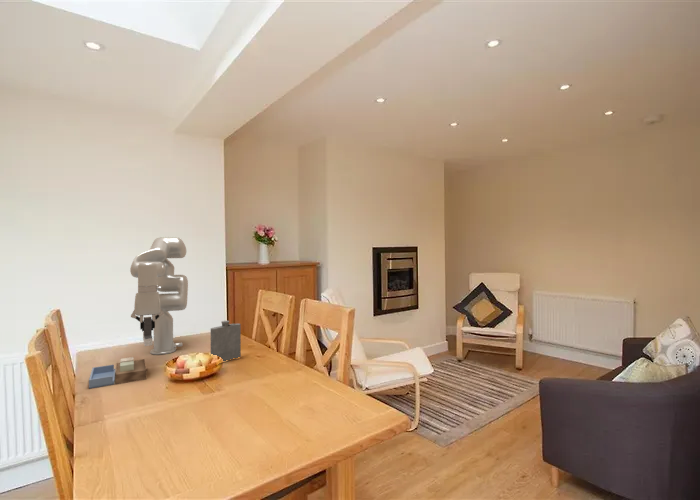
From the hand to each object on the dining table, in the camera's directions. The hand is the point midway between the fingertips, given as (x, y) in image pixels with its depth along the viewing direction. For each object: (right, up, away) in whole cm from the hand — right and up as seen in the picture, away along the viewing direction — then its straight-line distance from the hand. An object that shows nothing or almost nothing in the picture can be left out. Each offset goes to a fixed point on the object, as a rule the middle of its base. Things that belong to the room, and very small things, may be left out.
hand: (147, 329), depth 163 cm
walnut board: (-6, -20, -3) cm, 21 cm away
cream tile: (-9, -16, -1) cm, 18 cm away
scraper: (0, -5, 0) cm, 5 cm away
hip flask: (+29, -20, +17) cm, 39 cm away
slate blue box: (-14, -20, -9) cm, 26 cm away
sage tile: (-5, -16, -7) cm, 18 cm away
